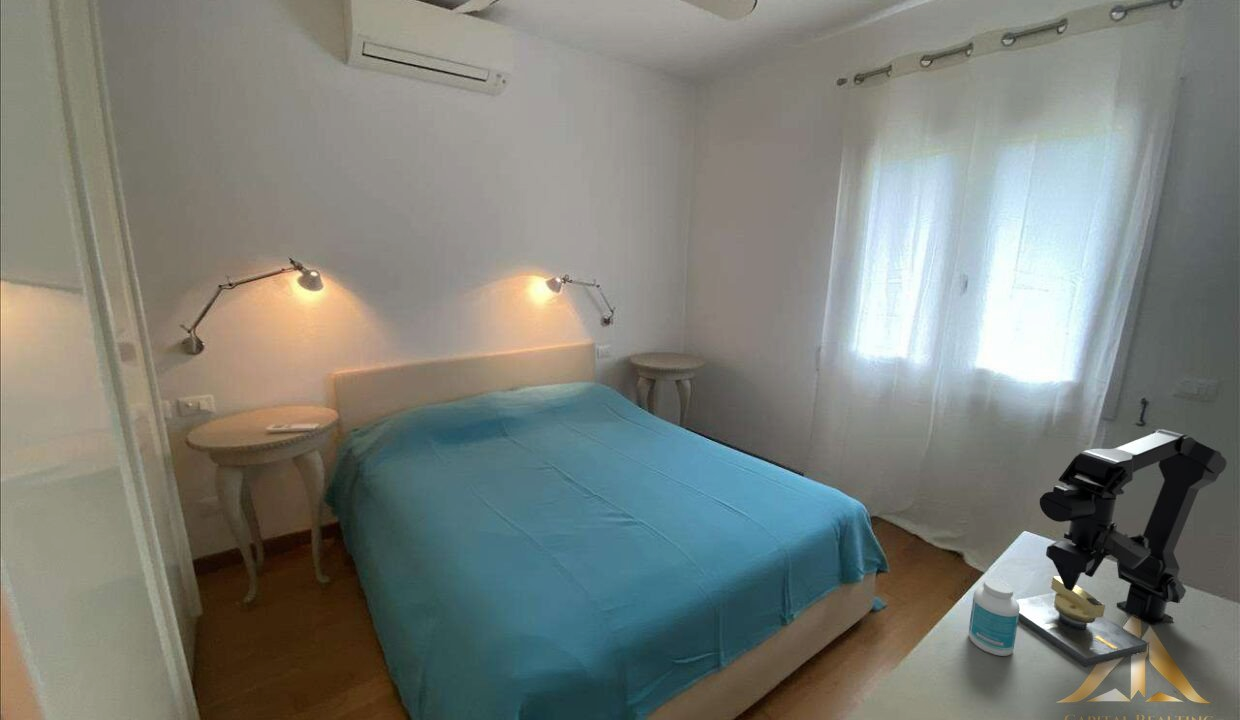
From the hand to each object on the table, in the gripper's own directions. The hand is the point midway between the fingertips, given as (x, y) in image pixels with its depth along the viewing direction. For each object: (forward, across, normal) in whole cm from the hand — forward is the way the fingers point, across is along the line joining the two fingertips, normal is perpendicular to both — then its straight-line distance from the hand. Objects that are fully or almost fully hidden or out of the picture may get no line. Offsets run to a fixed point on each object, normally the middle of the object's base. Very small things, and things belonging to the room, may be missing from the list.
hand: (1078, 582), depth 99 cm
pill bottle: (+12, -19, +6) cm, 23 cm away
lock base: (+11, 0, 0) cm, 11 cm away
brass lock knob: (+7, 0, 0) cm, 7 cm away
